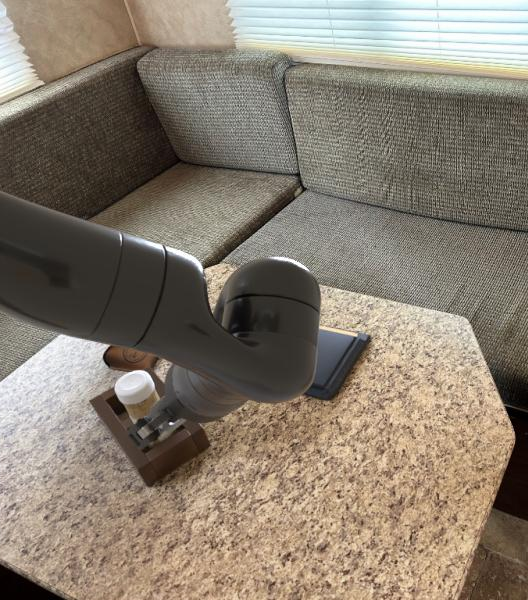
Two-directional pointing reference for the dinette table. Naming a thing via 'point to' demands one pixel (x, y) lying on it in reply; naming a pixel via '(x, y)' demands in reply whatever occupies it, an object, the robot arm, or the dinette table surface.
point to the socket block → (161, 456)
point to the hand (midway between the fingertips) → (178, 406)
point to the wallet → (335, 360)
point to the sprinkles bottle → (140, 399)
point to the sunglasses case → (127, 359)
